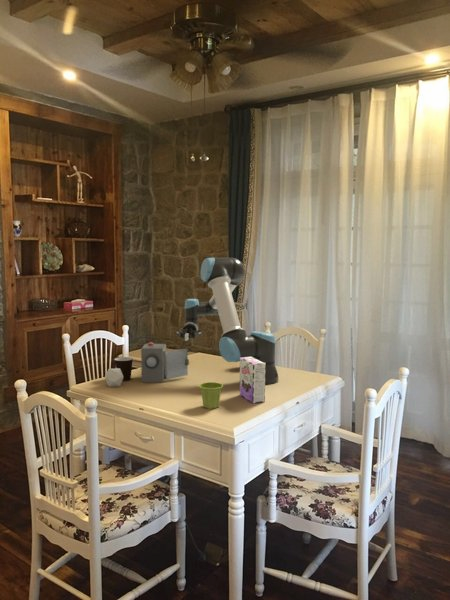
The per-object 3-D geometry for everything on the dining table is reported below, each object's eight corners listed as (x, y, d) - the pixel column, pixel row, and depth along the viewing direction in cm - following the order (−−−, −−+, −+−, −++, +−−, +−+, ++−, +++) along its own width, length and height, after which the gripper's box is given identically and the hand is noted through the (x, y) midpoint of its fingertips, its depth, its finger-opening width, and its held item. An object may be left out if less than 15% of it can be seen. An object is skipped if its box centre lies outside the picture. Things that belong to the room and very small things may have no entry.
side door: (165, 379, 238) (165, 352, 236) (163, 378, 239) (162, 351, 238) (188, 375, 246) (188, 348, 245) (186, 374, 247) (186, 348, 246)
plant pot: (223, 410, 197) (223, 388, 197) (199, 410, 197) (199, 388, 196) (222, 403, 207) (222, 382, 206) (198, 403, 206) (198, 382, 205)
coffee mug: (130, 381, 239) (130, 360, 238) (112, 381, 239) (112, 360, 238) (135, 375, 251) (135, 355, 250) (118, 375, 251) (118, 355, 250)
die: (125, 384, 237) (113, 367, 238) (129, 379, 230) (118, 361, 231) (110, 393, 232) (98, 375, 234) (114, 388, 225) (103, 370, 227)
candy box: (238, 394, 218) (239, 357, 217) (251, 393, 221) (251, 356, 219) (252, 403, 206) (252, 363, 204) (265, 402, 208) (266, 362, 206)
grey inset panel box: (162, 383, 236) (162, 347, 235) (140, 383, 237) (140, 347, 235) (166, 376, 251) (166, 341, 249) (145, 375, 251) (145, 341, 249)
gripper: (202, 337, 274) (199, 345, 251) (177, 336, 275) (172, 345, 251) (202, 323, 274) (199, 330, 250) (177, 323, 274) (172, 330, 250)
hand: (186, 338), depth 251 cm, fingers closed
